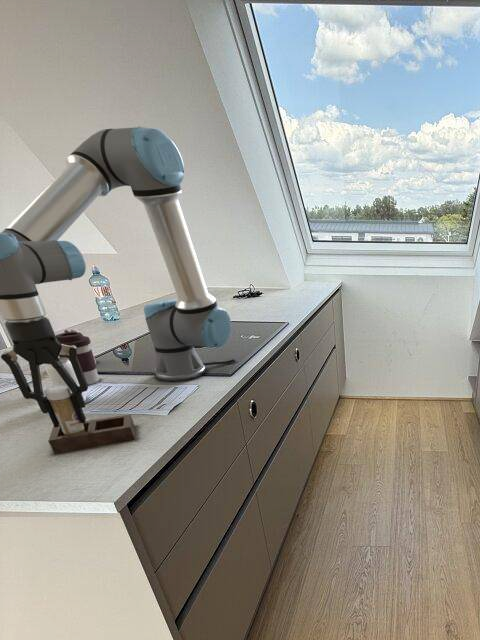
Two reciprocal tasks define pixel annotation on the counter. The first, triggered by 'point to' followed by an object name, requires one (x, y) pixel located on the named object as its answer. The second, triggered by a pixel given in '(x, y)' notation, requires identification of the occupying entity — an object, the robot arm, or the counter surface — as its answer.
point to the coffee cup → (81, 354)
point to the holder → (94, 434)
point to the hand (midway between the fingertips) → (70, 422)
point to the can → (57, 379)
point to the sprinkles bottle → (64, 410)
